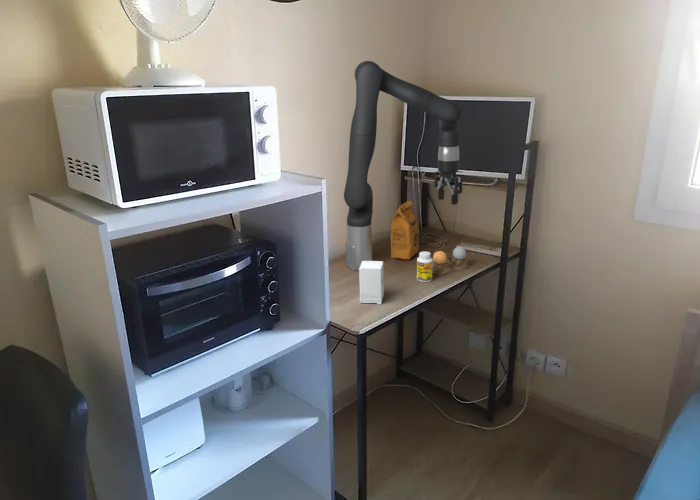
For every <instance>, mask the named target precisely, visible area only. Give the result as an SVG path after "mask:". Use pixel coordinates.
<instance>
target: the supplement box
mask: <svg viewBox="0 0 700 500" xmlns="http://www.w3.org/2000/svg"><path fill="white" fill-rule="evenodd" d="M358 274H359V275H358V279H359V280H358V281H359V303H360V302H362V303H377V304H376V305H382V303H383V298H384V296H385V295H384V293H385V292H384V283H385V282H384V279H385V278H384V276H385V275H384V261H383V260H382V261H381V260H380V261H379V260H372V261H362V263H361V265H360V268H359V270H358Z"/></svg>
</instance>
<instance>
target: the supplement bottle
mask: <svg viewBox="0 0 700 500" xmlns="http://www.w3.org/2000/svg"><path fill="white" fill-rule="evenodd" d="M431 255H432V254H431V252H430V251H420V252H419V253H418V257H417V258H416V280H417V281H419V282H421V283H429V282H431V281H432V280H433V272H432V267H433V259H432V258H433V257H431Z"/></svg>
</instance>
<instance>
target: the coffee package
mask: <svg viewBox="0 0 700 500" xmlns="http://www.w3.org/2000/svg"><path fill="white" fill-rule="evenodd" d="M413 204H414V203H413V201H412V200H408V201H406V202H404V203H402V204H401V205H400V206H399V207H398V209H397V211H396V212H395V214H394V215H393V218H392V220H391V226H390V258H391V259H401V260H410V259H411V258H412V257H414V256H415V255H416V254H417V253H418V252H419V249H420V247H419V237H420V235H419V234H420V231H419V230H420V228H419V223H418V220H417V218H416V216H415V215H414V213H413V211H412V207H411V206H413Z"/></svg>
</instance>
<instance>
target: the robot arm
mask: <svg viewBox="0 0 700 500" xmlns="http://www.w3.org/2000/svg"><path fill="white" fill-rule="evenodd" d="M354 80H355V88H356V89H355V90H356V91H355V92H356V94H355V97H356V98H355V108H354V112H353V115H352V119H351V125H350V133H349V141H348V142H349V145H348V164H347V165H348V168H347V174H346V175H347V177H346V181H345V187H344V191H343V200H344V202H345V204H346V206H348V212H347V217H346V225H347V226H346V228H347V242H346V243H345V258H346V259H345V260H346V261H345V262H346V263H345V264H346V267H347V268H349V269H350V270H352V271H354V272H355V271H359V268H360V265H361V263H362V261H373V237H372V235H373V233H372V230H373V227H372V221H373V220H372V219H373V218H372V217H373V214H374V213H373V212H374V211H373V210H374V208H373V207H374V206H373V204H374V202H373V201H374V199H373V198H374V197H373V189H372V187H371V185H370V183H369V182H368V175H369V169H370V165H371V163H372V159H373V156H374V152H375V148H376V143H377V142H376V139H377V131H378V130H377V127H378V124H377V123H378V103H379V102H378V100H379V94H380V92H382V93H385V94H387V95H390V96H392V97H394V98H396V99H397V100H400V102H403V103H404V104H407V105H409V106H411V107H413V108H415V109H417V110H419V111H422V112H425V113H428V114H430V115H432V116H434V117H436V118H437V120H438V121H437V122H438V131H439V137H438V154H437V171H435V172H434V185H433V186H434V188H436V189H437V199H438V200H440V201H443V200H444V199H445V188H446V187H448V188H447V189H448V190H449V191H450V192H451V202H450V203H451V205H457V204H458V202H459V201H458V200H459V194H463V177H462V176H457V172H459V170H460V147H459V146H460V132H459V130H458V128H457V127H458V121H459V120H460V118H461V117H462V115H463V111H462V107H461V106H460V104H458V103H457V102H455V101H452V100H450V99H447V98H444V97H442V96H439V95H438V94H436V93H434V92H432V91H430V90H428V89H425V88H424V87H421V86H419V85H417V84H413V83H411V82H409V81H406V80H403V79H400V78H398V76H397V77H396V76H395V75H393V74H390V73H389V72H387V71H386V70H384V69H382V68H381V67H380V65H379V64H377V63H376V62H375V61H372V60H364V61H362V62H360V63H358V64H357V66H356V67H355V70H354Z"/></svg>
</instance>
